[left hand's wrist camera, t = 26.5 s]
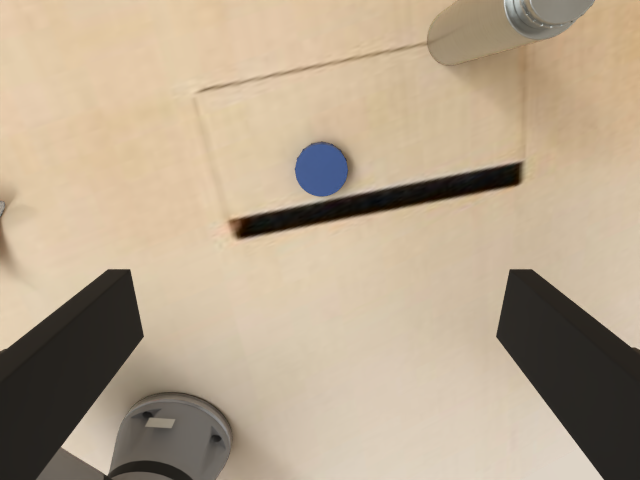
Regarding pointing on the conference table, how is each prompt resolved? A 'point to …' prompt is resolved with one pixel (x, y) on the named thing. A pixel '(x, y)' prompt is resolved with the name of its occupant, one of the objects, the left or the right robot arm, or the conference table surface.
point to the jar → (498, 26)
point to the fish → (2, 207)
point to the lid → (321, 169)
